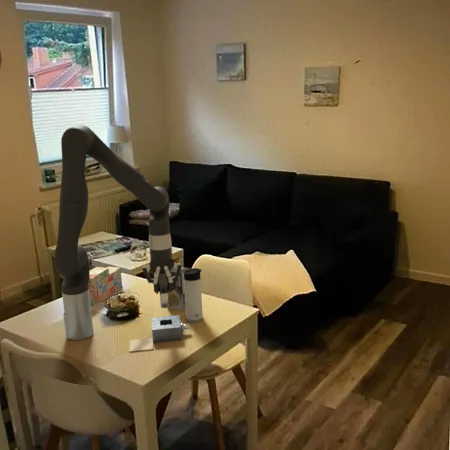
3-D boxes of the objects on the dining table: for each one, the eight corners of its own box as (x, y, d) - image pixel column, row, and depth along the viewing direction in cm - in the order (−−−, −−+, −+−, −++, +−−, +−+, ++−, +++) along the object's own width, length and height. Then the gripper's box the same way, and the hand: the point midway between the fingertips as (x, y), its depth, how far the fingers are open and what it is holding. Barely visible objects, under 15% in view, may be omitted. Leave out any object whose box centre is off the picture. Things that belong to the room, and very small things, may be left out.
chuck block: (153, 343, 185) (152, 329, 184) (152, 330, 195) (151, 317, 193) (190, 339, 187) (190, 326, 185) (188, 326, 196) (188, 314, 195)
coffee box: (193, 305, 214) (191, 268, 210) (184, 311, 209) (181, 273, 205) (175, 301, 219) (173, 264, 215) (165, 307, 214) (163, 269, 210)
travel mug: (201, 323, 199) (198, 272, 194) (184, 322, 200) (181, 272, 195) (205, 316, 205) (202, 267, 199) (188, 315, 206) (185, 266, 201)
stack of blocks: (110, 285, 239) (108, 259, 236) (122, 287, 237) (120, 261, 234) (82, 304, 220) (78, 276, 217) (94, 306, 218) (91, 278, 215)
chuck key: (159, 309, 185) (156, 274, 182) (159, 304, 189) (156, 270, 186) (170, 308, 186) (168, 273, 182) (170, 303, 190) (167, 269, 186)
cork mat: (129, 352, 179) (129, 351, 179) (129, 341, 187) (129, 340, 187) (153, 349, 180) (153, 348, 180) (152, 339, 188) (152, 338, 188)
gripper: (139, 250, 177) (143, 298, 182) (182, 247, 179) (184, 294, 184) (139, 244, 184) (143, 290, 189) (180, 241, 186) (183, 286, 191)
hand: (163, 292), depth 186 cm, fingers closed on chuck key, 4 cm apart
